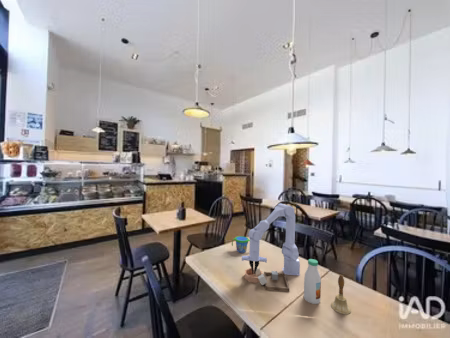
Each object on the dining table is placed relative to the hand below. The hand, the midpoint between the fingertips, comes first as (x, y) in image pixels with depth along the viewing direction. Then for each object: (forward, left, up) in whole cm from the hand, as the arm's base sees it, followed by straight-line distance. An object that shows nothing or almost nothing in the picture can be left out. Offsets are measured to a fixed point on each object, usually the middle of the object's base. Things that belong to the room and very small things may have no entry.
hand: (253, 273), depth 118 cm
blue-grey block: (-12, -3, -4) cm, 13 cm away
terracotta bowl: (0, -2, -4) cm, 5 cm away
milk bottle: (-29, +13, -4) cm, 32 cm away
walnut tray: (-13, +1, -4) cm, 13 cm away
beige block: (-3, -2, 0) cm, 4 cm away
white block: (-5, +3, -1) cm, 5 cm away
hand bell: (-41, +17, -4) cm, 45 cm away
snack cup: (+9, -40, -4) cm, 41 cm away
